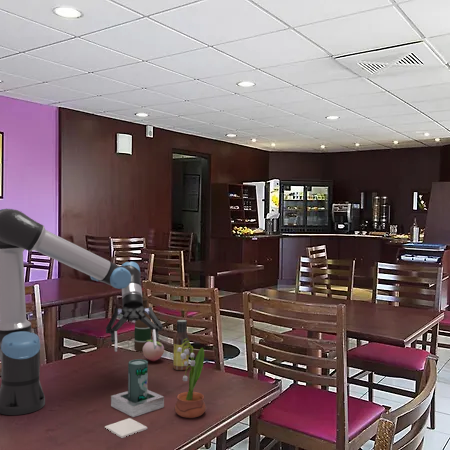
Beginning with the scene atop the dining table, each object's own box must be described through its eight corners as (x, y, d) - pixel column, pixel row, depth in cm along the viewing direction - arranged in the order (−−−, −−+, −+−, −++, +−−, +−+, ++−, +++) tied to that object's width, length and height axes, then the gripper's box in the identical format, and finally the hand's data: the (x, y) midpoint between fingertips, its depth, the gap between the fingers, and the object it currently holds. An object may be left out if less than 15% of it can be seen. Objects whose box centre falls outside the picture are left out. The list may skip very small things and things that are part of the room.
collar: (133, 417, 161) (133, 406, 161) (111, 406, 170) (111, 395, 169) (163, 407, 170) (164, 396, 170) (141, 396, 178) (141, 387, 178)
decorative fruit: (138, 362, 217) (138, 339, 217) (148, 357, 225) (149, 335, 224) (156, 366, 213) (157, 342, 213) (167, 360, 221) (167, 338, 220)
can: (144, 410, 167) (145, 365, 166) (126, 410, 167) (127, 364, 166) (148, 403, 173) (148, 359, 172) (130, 402, 173) (130, 359, 172)
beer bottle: (154, 348, 239) (155, 297, 239) (144, 352, 232) (145, 300, 231) (140, 346, 243) (141, 296, 242) (130, 350, 236) (131, 298, 235)
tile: (121, 438, 146) (121, 436, 146) (104, 428, 153) (104, 426, 153) (147, 429, 153) (147, 427, 153) (129, 419, 159) (129, 417, 159)
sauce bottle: (185, 371, 207) (186, 323, 206) (171, 370, 208) (172, 322, 208) (190, 366, 213) (191, 319, 213) (175, 365, 215) (176, 318, 214)
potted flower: (190, 425, 156) (191, 344, 155) (164, 417, 162) (165, 339, 161) (211, 412, 166) (213, 336, 166) (186, 405, 172) (188, 331, 171)
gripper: (163, 302, 199) (169, 351, 185) (98, 304, 192) (99, 355, 178) (166, 291, 194) (172, 341, 180) (98, 293, 187) (99, 344, 173)
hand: (135, 348), depth 179 cm, fingers open, 13 cm apart
